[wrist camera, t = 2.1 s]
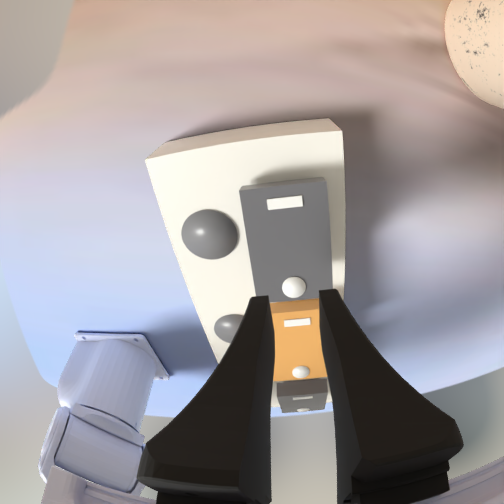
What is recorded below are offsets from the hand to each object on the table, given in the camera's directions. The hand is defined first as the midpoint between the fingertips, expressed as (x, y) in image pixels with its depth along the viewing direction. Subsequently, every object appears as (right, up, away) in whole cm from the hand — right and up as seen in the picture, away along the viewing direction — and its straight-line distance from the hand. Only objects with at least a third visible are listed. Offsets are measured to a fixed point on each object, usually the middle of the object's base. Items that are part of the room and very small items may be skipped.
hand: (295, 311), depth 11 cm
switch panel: (0, -3, +14) cm, 15 cm away
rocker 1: (0, +3, +4) cm, 5 cm away
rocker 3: (+3, -10, +13) cm, 17 cm away
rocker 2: (+2, -4, +8) cm, 9 cm away
